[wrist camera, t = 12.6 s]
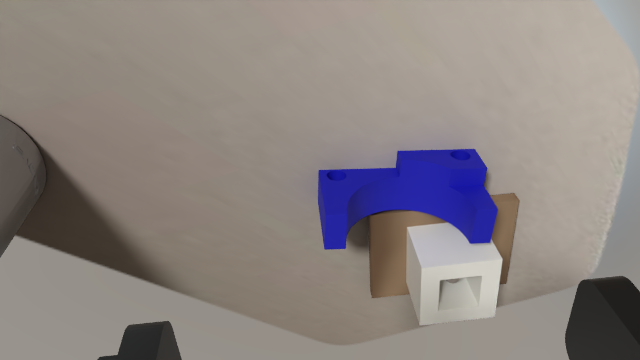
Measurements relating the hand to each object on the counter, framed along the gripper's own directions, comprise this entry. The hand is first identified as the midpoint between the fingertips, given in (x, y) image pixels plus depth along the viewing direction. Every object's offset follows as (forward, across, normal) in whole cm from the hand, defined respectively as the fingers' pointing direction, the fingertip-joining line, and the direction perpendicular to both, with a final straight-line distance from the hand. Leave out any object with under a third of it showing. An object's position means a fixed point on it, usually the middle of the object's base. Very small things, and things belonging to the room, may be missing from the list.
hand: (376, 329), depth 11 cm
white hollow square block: (+27, -10, +22) cm, 36 cm away
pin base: (+28, -10, +22) cm, 37 cm away
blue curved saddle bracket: (+28, -6, +14) cm, 32 cm away
